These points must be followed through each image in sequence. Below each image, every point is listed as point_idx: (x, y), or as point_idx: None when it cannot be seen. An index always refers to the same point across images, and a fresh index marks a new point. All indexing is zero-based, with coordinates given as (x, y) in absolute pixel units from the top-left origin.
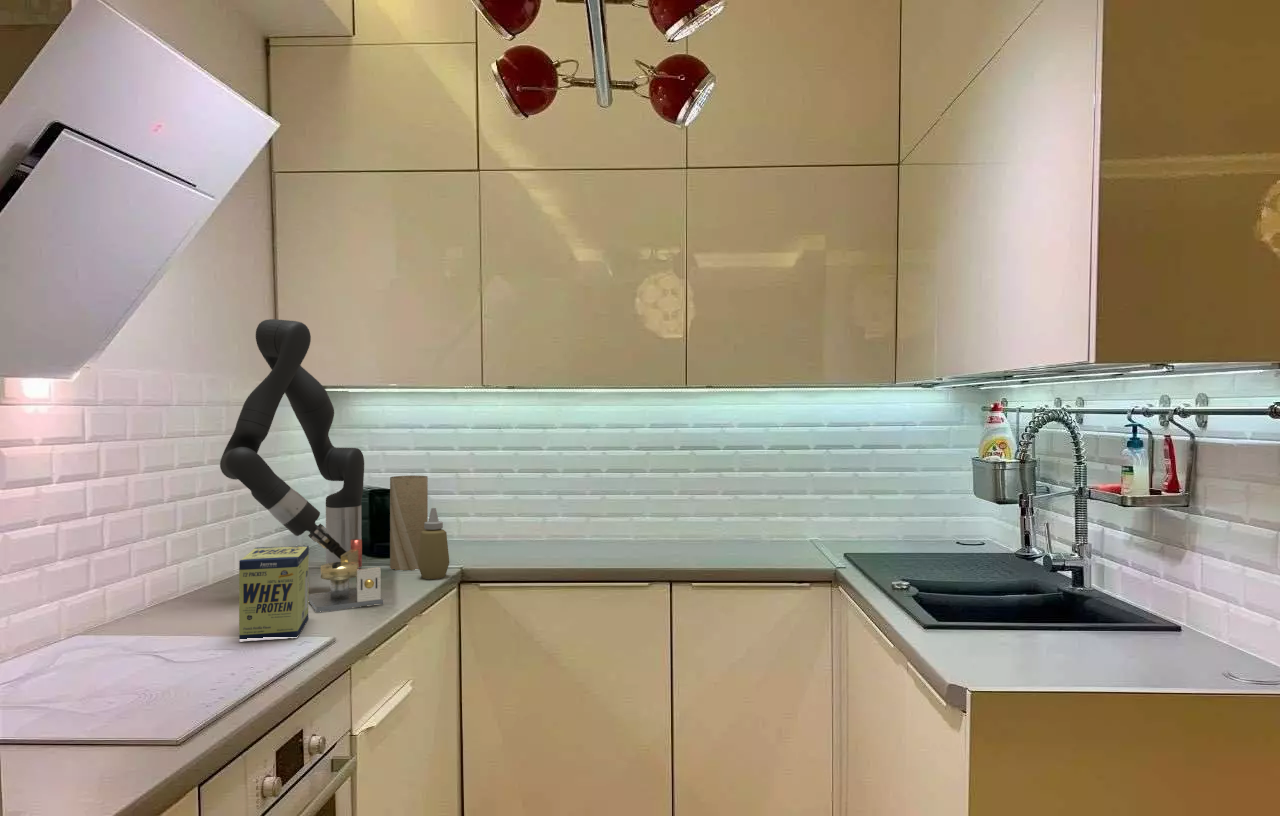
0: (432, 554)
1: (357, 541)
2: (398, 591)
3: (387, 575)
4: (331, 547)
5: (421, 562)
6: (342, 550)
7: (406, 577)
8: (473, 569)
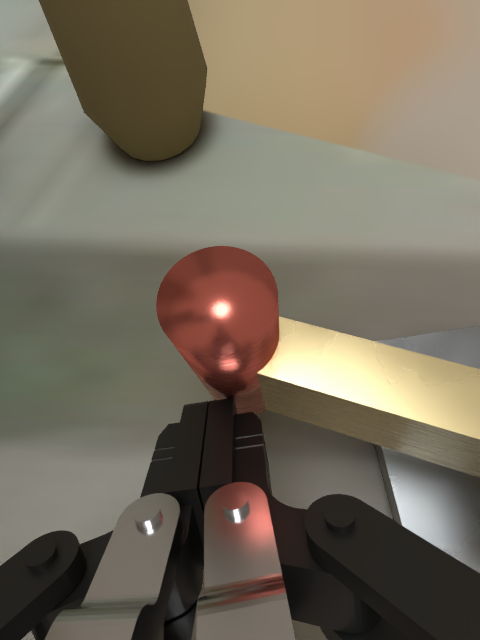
0: (188, 33)
1: (276, 291)
2: (367, 243)
3: (25, 271)
4: (371, 616)
5: (167, 104)
6: (235, 463)
7: (107, 209)
8: None
